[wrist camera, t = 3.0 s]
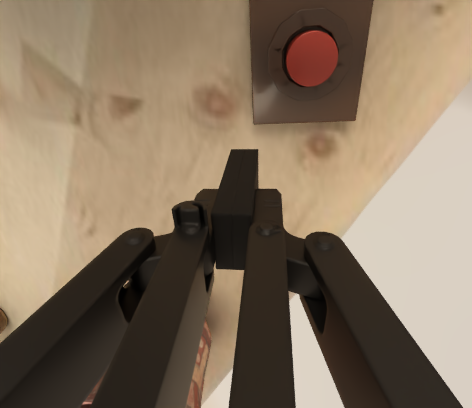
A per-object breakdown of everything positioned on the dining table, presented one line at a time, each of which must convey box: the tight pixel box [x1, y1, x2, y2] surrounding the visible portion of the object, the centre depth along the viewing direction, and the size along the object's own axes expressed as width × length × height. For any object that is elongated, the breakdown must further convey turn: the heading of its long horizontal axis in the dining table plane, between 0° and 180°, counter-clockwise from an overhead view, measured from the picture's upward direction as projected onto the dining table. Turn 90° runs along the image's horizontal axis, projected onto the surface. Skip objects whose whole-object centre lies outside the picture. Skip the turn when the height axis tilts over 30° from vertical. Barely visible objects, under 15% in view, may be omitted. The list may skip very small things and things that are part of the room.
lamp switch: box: [285, 30, 338, 87], centre depth 24 cm, size 4×4×2 cm
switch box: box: [249, 0, 373, 124], centre depth 26 cm, size 12×10×4 cm
